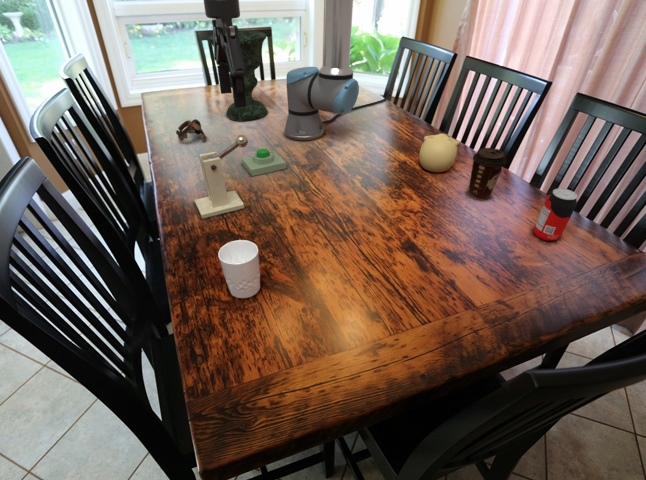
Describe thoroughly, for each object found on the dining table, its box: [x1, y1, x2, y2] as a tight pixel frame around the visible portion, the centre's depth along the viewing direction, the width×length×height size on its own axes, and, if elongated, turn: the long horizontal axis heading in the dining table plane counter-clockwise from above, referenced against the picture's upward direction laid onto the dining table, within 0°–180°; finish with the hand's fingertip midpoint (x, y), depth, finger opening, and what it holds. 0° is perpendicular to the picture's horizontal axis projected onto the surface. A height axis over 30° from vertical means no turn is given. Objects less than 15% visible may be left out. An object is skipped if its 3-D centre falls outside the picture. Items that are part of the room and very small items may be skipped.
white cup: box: [217, 239, 261, 299], centre depth 79 cm, size 8×8×10 cm
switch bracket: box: [194, 151, 246, 220], centre depth 104 cm, size 12×9×15 cm
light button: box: [255, 148, 270, 158], centre depth 124 cm, size 4×4×2 cm
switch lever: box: [205, 134, 249, 160], centre depth 100 cm, size 13×3×3 cm, turn 116°
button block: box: [241, 150, 287, 177], centre depth 126 cm, size 12×10×4 cm
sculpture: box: [418, 133, 460, 173], centre depth 122 cm, size 12×12×11 cm
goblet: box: [207, 29, 268, 122], centre depth 157 cm, size 22×23×30 cm
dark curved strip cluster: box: [175, 118, 207, 143], centre depth 144 cm, size 12×10×8 cm
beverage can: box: [533, 187, 578, 242], centre depth 92 cm, size 6×6×12 cm
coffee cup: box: [467, 147, 508, 201], centre depth 108 cm, size 9×8×13 cm
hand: (233, 99), depth 95 cm, fingers open, 13 cm apart
